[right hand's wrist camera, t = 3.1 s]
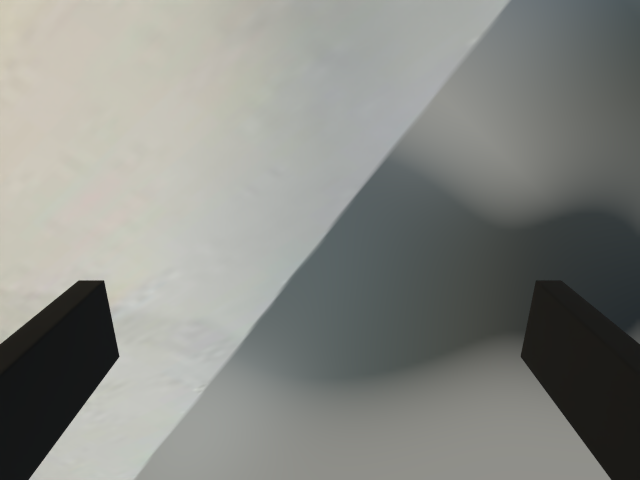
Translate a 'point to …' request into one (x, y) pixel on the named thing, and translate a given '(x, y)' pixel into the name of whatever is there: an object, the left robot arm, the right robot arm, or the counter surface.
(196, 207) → the counter surface
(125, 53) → the counter surface
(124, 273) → the counter surface
